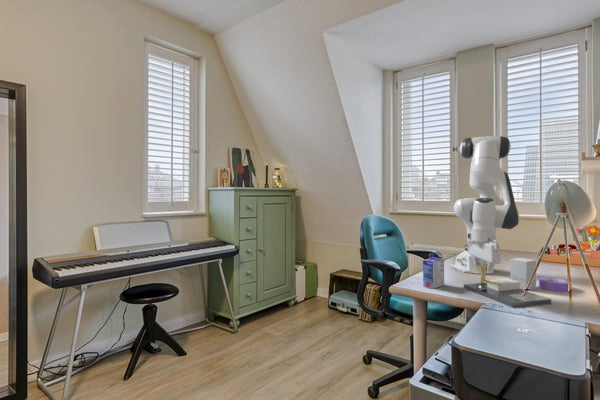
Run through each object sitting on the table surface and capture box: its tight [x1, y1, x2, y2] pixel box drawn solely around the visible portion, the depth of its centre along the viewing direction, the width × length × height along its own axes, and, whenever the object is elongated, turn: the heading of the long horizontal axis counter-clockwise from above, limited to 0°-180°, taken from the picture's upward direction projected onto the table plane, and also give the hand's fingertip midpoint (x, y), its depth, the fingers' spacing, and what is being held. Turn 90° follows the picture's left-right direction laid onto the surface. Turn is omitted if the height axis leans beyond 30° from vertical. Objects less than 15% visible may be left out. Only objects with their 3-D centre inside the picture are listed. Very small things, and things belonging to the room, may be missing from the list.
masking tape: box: [538, 276, 569, 293], centre depth 153 cm, size 12×12×4 cm
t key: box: [476, 264, 501, 286], centre depth 142 cm, size 7×8×9 cm
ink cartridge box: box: [422, 252, 445, 290], centre depth 156 cm, size 10×6×14 cm, turn 129°
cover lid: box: [487, 278, 520, 291], centre depth 147 cm, size 6×11×3 cm, turn 104°
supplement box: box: [509, 257, 537, 291], centre depth 153 cm, size 7×7×13 cm
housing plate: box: [463, 282, 552, 308], centre depth 143 cm, size 26×18×3 cm
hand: (483, 269), depth 144 cm, fingers open, 8 cm apart
